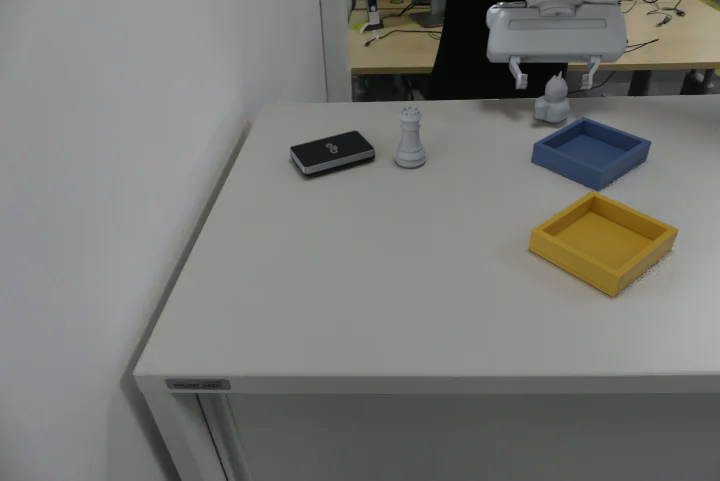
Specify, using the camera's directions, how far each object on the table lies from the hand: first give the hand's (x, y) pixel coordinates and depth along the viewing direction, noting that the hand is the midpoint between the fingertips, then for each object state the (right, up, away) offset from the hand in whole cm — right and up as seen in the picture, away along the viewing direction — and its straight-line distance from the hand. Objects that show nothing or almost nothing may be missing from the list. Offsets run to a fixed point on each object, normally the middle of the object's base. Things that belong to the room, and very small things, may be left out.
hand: (553, 87), depth 85 cm
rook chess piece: (-22, -12, -5) cm, 26 cm away
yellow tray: (-2, -24, -22) cm, 33 cm away
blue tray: (+2, -12, -7) cm, 14 cm away
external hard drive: (-33, -12, -3) cm, 36 cm away
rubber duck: (0, -5, +3) cm, 5 cm away
